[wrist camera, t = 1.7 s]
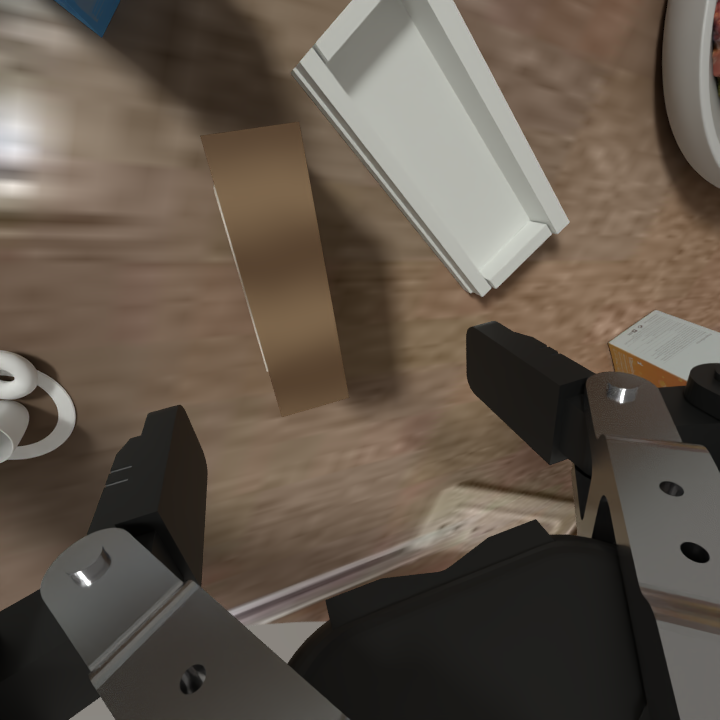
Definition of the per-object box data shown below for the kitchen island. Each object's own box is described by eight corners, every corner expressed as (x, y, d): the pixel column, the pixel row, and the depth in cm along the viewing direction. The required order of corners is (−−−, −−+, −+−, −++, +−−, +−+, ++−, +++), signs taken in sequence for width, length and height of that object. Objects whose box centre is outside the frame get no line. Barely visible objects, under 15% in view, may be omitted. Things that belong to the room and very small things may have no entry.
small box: (605, 342, 42) (743, 408, 31) (655, 307, 42) (811, 361, 31) (617, 392, 46) (742, 467, 35) (662, 361, 46) (802, 426, 35)
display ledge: (464, 290, 34) (487, 302, 31) (290, 73, 24) (300, 60, 21) (538, 216, 33) (569, 222, 30) (389, -43, 23) (414, -74, 20)
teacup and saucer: (-13, 326, 25) (-50, 352, 22) (108, 391, 29) (93, 423, 26) (-92, 420, 26) (-140, 460, 23) (36, 471, 30) (11, 512, 27)
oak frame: (317, 333, 32) (351, 397, 23) (263, 346, 31) (279, 418, 23) (275, 133, 25) (302, 121, 17) (205, 143, 24) (196, 136, 16)
